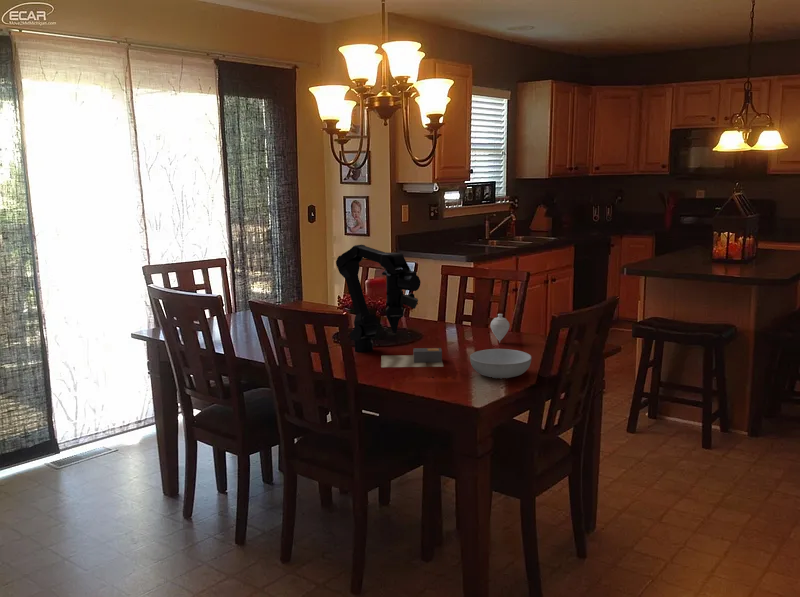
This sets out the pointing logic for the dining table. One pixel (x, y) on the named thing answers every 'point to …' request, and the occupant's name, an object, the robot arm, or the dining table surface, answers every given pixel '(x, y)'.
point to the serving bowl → (500, 362)
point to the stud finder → (427, 355)
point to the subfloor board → (405, 362)
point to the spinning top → (499, 327)
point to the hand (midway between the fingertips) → (394, 330)
